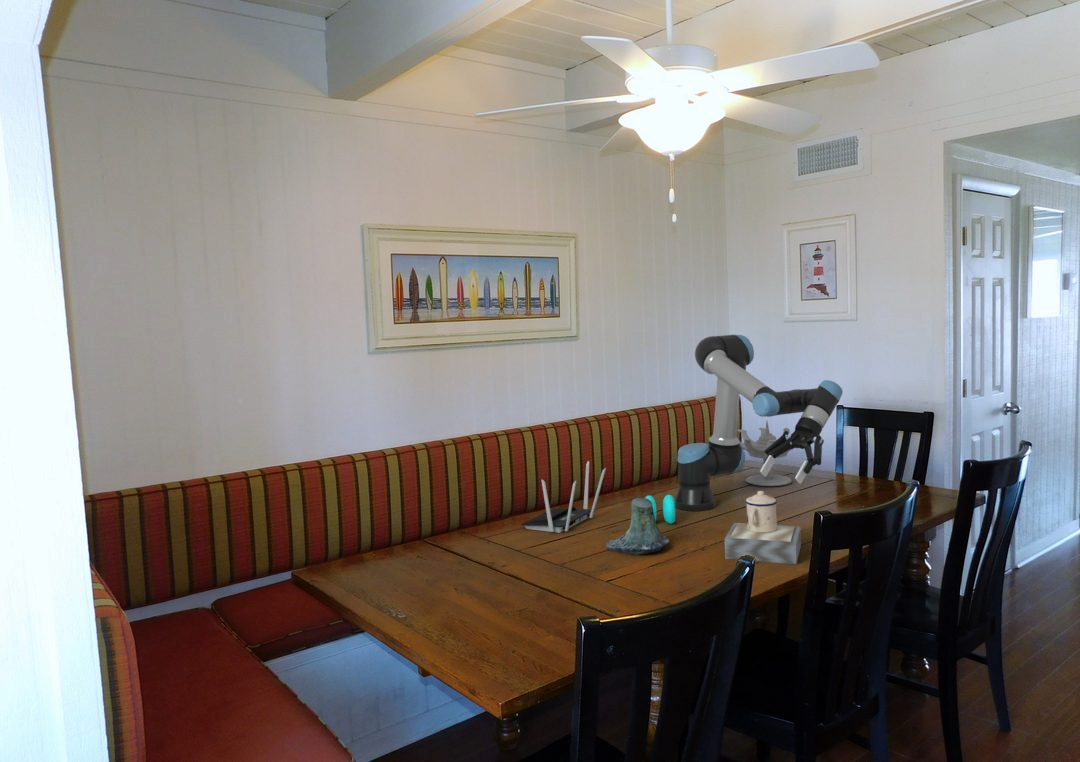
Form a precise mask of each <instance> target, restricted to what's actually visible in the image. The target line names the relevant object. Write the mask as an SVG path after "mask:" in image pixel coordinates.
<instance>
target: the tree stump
mask: <svg viewBox="0 0 1080 762" xmlns="http://www.w3.org/2000/svg"><path fill="white" fill-rule="evenodd" d="M630 505H631V508H630V509H631V514H630V515H631V516H630V517H631V518H630V525H629V528H628V529H627V531H626V533H625V534H623V535H621V536H619V537H617V538H615V539H611V540H609V541H606V544H605V545H606V549H608V550H609V551H611V552H616V553H619V554H625V555H633V556H640V555H646V554H652V553H656V552H660V550H661V549H662V548H663V547H665V546H666V545H667V544H668V543H669V542H670V539H669V538H667V537H666V536H663V535H662V534H661V530H660V528H659V527H658V526H657V523H656V520H655V516H654V510H653V504H652V502H651V501H650V500H649V499H646V498H645V497H636V498H634V499H632V501H631V504H630Z"/></svg>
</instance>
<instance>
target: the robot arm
mask: <svg viewBox="0 0 1080 762" xmlns="http://www.w3.org/2000/svg"><path fill="white" fill-rule="evenodd" d="M754 350H755V349H754V346H753V344H752V342H751V340H750V339H749V338H748V337H747V336H745V335H742V334H725V335H710V336H707V337H705V338H703V339H701V340H700V341H699V343H698V344H697V345H696V347H695V350H694V357H695V362H696V363H697V365H698V366H699V367H700V369H702V370H703V371H704V372H705V373H707V374H709V375H714V376H715V377H717V379H716V380H717V381H716V392H715V393H716V394H715V404H714V405H715V407H714V416H713V417H714V419H713V433H712V435H711V436H710V437H709V438H708V443H706V442H696V443H694V442H692V443H689V444H685V445H683V446H680V447H679V449H678V451H677V468H678V469H677V476H678V487H677V491H676V495H675V498H674V502H675V509H678V510H682V511H690V512H694V511H695V512H698V511H699V512H700V511H708V510H712V509H715V508H716V498H715V497H714V493H713V490H712V488H711V481H710V480H711V477H716V476H722V475H723V476H724V475H731V474H733V473H737V472H739V471H740V470H741V469H742V468H743V467H744V464H745V462H746V452H745V450H744V449H743V447H742V446H741V445H740V442H741V441H740V440H739V438H738V437H737V432H738V431H737V430H738V418H739V407H740V406H739V405H740V404H739V403H740V395H741V396H743V397H744V398H745V399H746V400H747V401H749V402H750V403H751V404H752V409H753V410H754V413H755V414H756V415H757V416H758V417H767V418H770V417H775V416H776V417H777V416H781V415H789V414H799V413H802V414H801V415H800V418H799V419H798V421H797V423H796V425H795V426H794V431H793V432H792V433H791V432H790V433H788V432H787V431H785V432H784V433H783V432H782V435H781V436H780V437H778V438H777V439H776V441H775V442H774V443H773V444H772V445H770V446H769V447H768V448H767V449H766V450H765V451H764V452H765V453H766V455H767V458H766V459H765V461H763V465H762V467H760V468H761V469H760V470H759V472H760V474H761V475H763V476H764V477H766V476H767V474H768V472H769V471H770V469H771V467H772V468H773V465H774V464H775V462H776V459H777V458H776V457H778V456H780V455H781V454H783V453H785V452H786V451H788V450H790V449H792V450H794V449H801V450H804V452H805V456H806V460H804V461H803V462H802V465H800V468H799V470H798V471H797V473H796V476H795V477H794V479H795V480H796V481H797V482H798V484H801V485H802V483H803V481H804V480H805V478H806V476H807V475H809V474H810V473H811V471H812V469H813V467H815V466H817V465H818V466H821V464H822V457H823V456H822V452H823V445H824V442H825V440H824V439H823V438H822V436H821V433H822V431H823V429H824V427H825V425H826V424H827V422H828V420H829V419H830V417H831V415H832V413H833V411H835V409H836V407H837V405H838V403H839V402H840V400H841V397H842V396H843V393H844V391H843V388H842V387H841V386H840V385H839V384H838V383H836V382H834V381H832V380H829V379H827V380H825V379H823V381H821V382H820V383H819V384H818V387H815V388H807V389H805V388H803V389H802V388H801V389H800V388H799V389H797V388H796V389H791V390H785V391H775V390H774V389H772V388H771V387H769V386H768V385H766V384H765V383H764V382H763V381H761V380H760V379H758V378H757V377H755V376H754V375H752V373H750V372H748V371H747V366H748V365H751V363H752V362H753V360H754V358H755V351H754ZM790 442H791V443H792V445H791V444H790ZM812 444H813V445H814V448H813V449H812V446H811V445H812ZM790 451H791V450H790ZM773 454H774V455H773Z"/></svg>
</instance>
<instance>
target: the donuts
mask: <svg viewBox="0 0 1080 762" xmlns="http://www.w3.org/2000/svg"><path fill="white" fill-rule="evenodd" d="M644 498H646V499H649V500H650V501H651V502H652V504H653V510H654V516H655V521H656V520H657V504H656V500H655V498H654V497H653V496H652V495H646V496H644ZM662 510H663V512H662V513H663V518H664V521H666V523H667V524H674V522H676V507H675V498H674V496H673V495H672V494H667V495H665V496H664V498H663V500H662Z"/></svg>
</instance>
